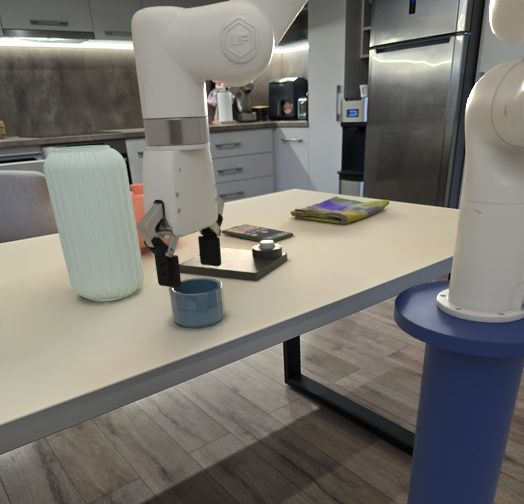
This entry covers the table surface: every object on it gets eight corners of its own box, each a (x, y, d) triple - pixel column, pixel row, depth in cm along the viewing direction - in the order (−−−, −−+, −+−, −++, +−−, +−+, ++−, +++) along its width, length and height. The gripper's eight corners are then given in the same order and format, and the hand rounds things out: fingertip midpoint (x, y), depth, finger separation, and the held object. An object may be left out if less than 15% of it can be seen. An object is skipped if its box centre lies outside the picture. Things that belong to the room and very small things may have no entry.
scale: (287, 259, 92) (287, 244, 90) (256, 280, 81) (255, 263, 80) (216, 253, 98) (215, 238, 97) (178, 272, 88) (176, 256, 86)
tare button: (276, 247, 90) (275, 240, 89) (270, 250, 88) (269, 243, 87) (263, 246, 91) (263, 239, 90) (257, 249, 89) (257, 242, 88)
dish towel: (392, 209, 131) (393, 198, 130) (344, 226, 115) (344, 214, 114) (338, 204, 142) (338, 194, 140) (287, 219, 125) (286, 208, 124)
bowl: (234, 312, 69) (231, 280, 66) (207, 332, 63) (203, 298, 61) (192, 306, 72) (188, 275, 69) (163, 324, 66) (157, 291, 64)
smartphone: (269, 243, 103) (269, 237, 103) (221, 235, 113) (221, 230, 112) (293, 236, 109) (293, 230, 108) (245, 228, 118) (245, 223, 117)
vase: (125, 278, 86) (100, 143, 76) (159, 291, 78) (137, 144, 68) (62, 295, 79) (26, 149, 69) (93, 312, 72) (58, 151, 62)
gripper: (192, 132, 65) (203, 256, 73) (101, 140, 51) (126, 291, 59) (240, 131, 62) (246, 260, 70) (157, 139, 48) (176, 299, 56)
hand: (191, 274), depth 64 cm, fingers open, 9 cm apart
